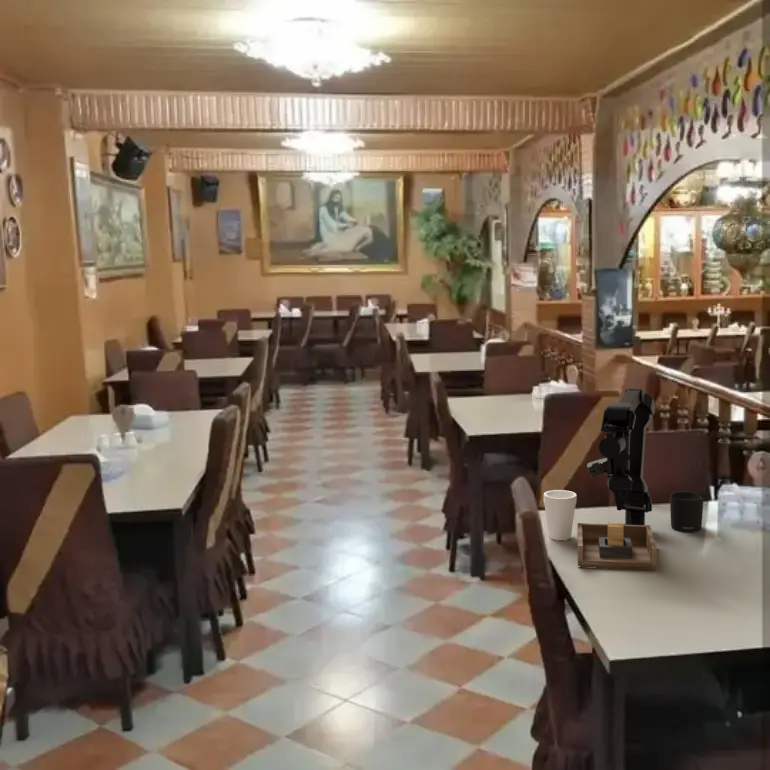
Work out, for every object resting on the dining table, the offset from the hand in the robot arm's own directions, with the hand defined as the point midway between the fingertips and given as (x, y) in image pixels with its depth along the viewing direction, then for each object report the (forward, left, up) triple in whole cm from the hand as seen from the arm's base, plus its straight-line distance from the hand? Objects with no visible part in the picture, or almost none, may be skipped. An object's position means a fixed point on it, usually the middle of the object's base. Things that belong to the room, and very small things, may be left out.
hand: (618, 505), depth 245 cm
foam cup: (-10, -16, -13) cm, 23 cm away
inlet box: (+5, -1, -13) cm, 14 cm away
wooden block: (+5, -1, -12) cm, 13 cm away
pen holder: (-23, +21, -13) cm, 34 cm away
